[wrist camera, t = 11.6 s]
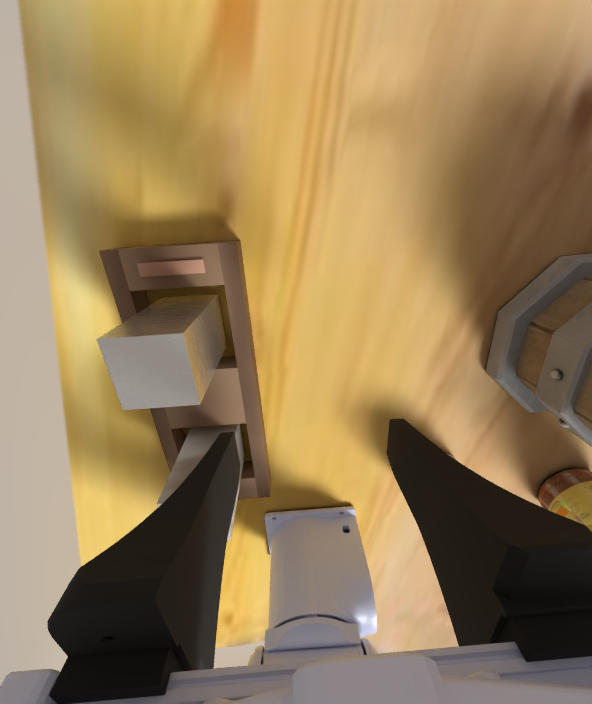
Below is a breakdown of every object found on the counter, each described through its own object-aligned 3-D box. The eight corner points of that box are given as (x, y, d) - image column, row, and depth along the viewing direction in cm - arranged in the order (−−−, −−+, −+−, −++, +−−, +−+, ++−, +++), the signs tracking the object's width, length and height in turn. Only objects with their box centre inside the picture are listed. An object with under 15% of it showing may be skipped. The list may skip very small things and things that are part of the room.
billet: (218, 293, 21) (182, 333, 13) (226, 344, 22) (200, 404, 15) (162, 297, 21) (96, 339, 13) (175, 348, 22) (123, 410, 15)
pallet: (240, 240, 19) (214, 251, 12) (270, 479, 28) (266, 567, 21) (116, 247, 19) (14, 264, 12) (187, 485, 28) (154, 577, 21)
